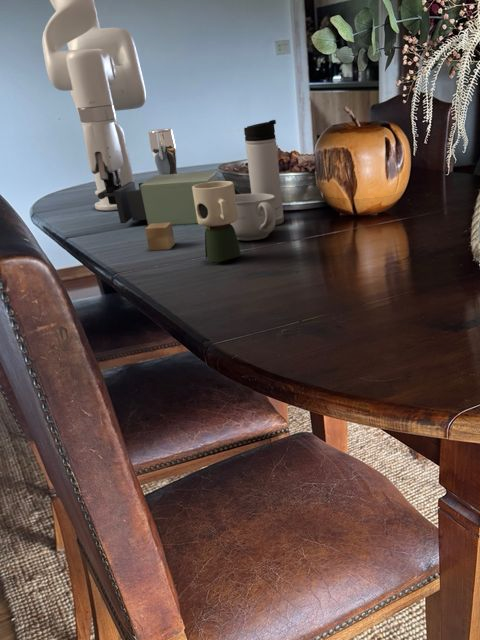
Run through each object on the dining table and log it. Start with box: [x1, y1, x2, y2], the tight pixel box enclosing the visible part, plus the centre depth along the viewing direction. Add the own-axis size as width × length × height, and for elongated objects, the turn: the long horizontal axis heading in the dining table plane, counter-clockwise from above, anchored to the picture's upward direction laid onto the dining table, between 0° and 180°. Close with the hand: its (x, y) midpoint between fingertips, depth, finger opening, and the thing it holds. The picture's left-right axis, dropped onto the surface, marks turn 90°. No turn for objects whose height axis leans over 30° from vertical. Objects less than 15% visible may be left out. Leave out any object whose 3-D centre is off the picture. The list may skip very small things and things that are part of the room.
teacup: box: [231, 193, 276, 241], centre depth 126 cm, size 14×11×8 cm
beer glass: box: [148, 128, 178, 175], centre depth 186 cm, size 7×7×15 cm
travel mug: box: [243, 119, 285, 226], centre depth 134 cm, size 6×7×20 cm
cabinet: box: [140, 170, 220, 227], centre depth 148 cm, size 15×13×9 cm
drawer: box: [97, 181, 147, 224], centre depth 148 cm, size 18×12×7 cm, turn 87°
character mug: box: [192, 180, 242, 263], centre depth 113 cm, size 11×7×13 cm, turn 24°
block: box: [144, 222, 176, 251], centre depth 127 cm, size 4×4×4 cm
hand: (117, 203), depth 149 cm, fingers closed
